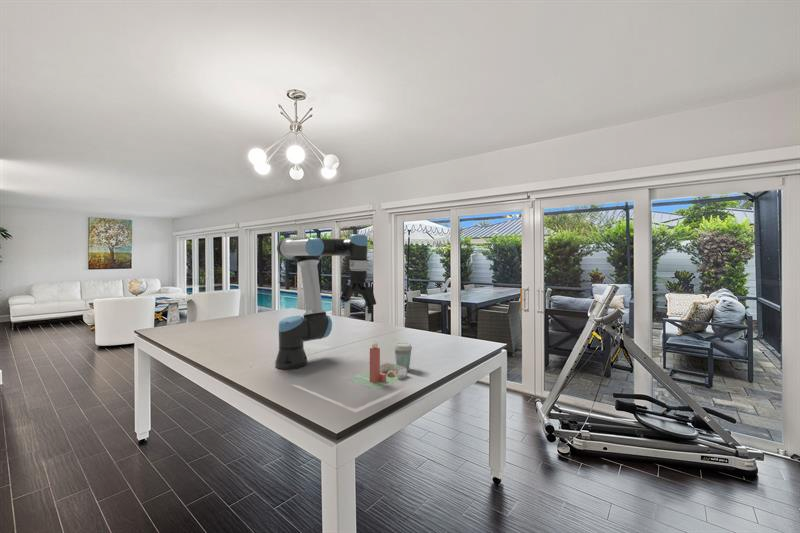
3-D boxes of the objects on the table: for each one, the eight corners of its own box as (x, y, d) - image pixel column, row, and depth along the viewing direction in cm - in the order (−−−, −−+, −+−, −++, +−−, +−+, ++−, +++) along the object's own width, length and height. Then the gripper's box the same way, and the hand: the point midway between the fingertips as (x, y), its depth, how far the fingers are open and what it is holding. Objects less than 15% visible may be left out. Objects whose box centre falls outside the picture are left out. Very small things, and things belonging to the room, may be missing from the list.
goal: (377, 376, 156) (377, 365, 156) (386, 372, 161) (386, 361, 161) (398, 382, 148) (398, 370, 148) (406, 378, 153) (406, 367, 153)
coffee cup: (390, 369, 165) (390, 344, 164) (402, 365, 171) (402, 341, 171) (403, 374, 159) (403, 348, 158) (415, 369, 165) (415, 344, 165)
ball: (391, 373, 156) (386, 378, 154) (388, 367, 155) (384, 373, 153) (397, 375, 154) (392, 381, 152) (394, 369, 153) (390, 375, 150)
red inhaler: (366, 380, 147) (366, 341, 147) (374, 377, 151) (374, 339, 151) (378, 384, 143) (378, 344, 142) (386, 381, 146) (386, 342, 146)
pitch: (346, 381, 149) (346, 379, 149) (369, 373, 159) (369, 370, 159) (376, 392, 137) (376, 389, 137) (399, 382, 148) (399, 380, 148)
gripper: (333, 268, 156) (332, 315, 158) (372, 272, 140) (371, 324, 142) (345, 268, 162) (345, 313, 163) (385, 271, 146) (384, 321, 147)
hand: (357, 318), depth 153 cm, fingers open, 13 cm apart
